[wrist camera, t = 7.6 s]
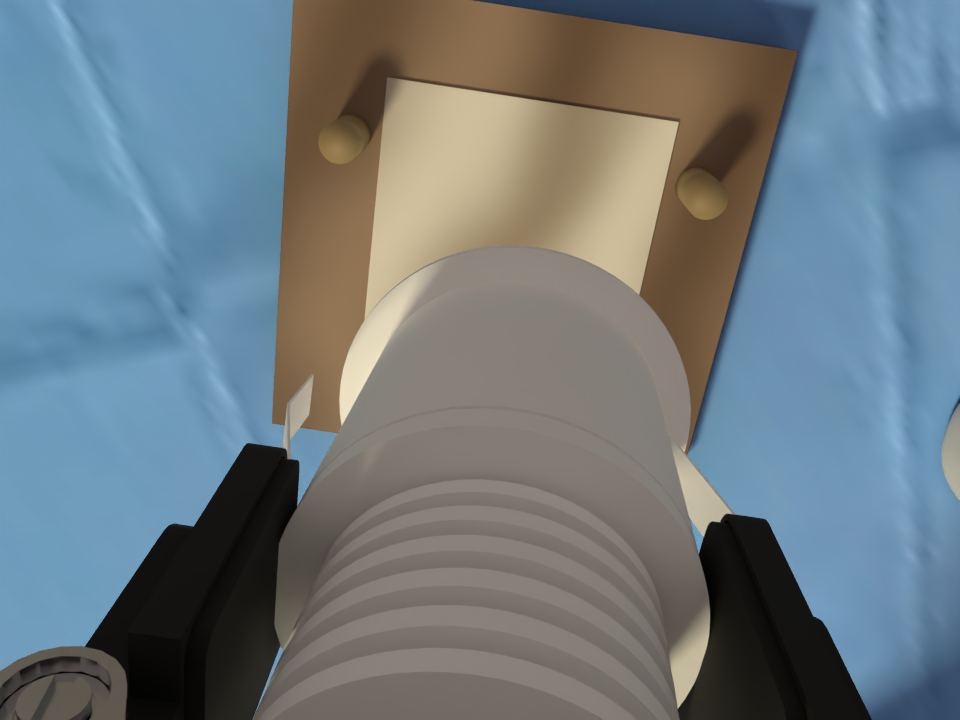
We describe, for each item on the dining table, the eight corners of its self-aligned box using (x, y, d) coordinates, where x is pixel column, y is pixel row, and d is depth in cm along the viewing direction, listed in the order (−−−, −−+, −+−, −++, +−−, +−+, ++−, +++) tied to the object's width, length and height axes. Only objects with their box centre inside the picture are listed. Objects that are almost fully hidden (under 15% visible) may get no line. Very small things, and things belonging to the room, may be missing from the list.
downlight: (757, 287, 16) (1032, 667, 7) (659, 584, 18) (755, 1151, 9) (342, 203, 16) (36, 459, 7) (306, 511, 19) (52, 996, 9)
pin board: (786, 49, 26) (820, 54, 23) (673, 466, 32) (689, 514, 29) (304, -26, 26) (276, -31, 23) (280, 408, 31) (255, 450, 28)
